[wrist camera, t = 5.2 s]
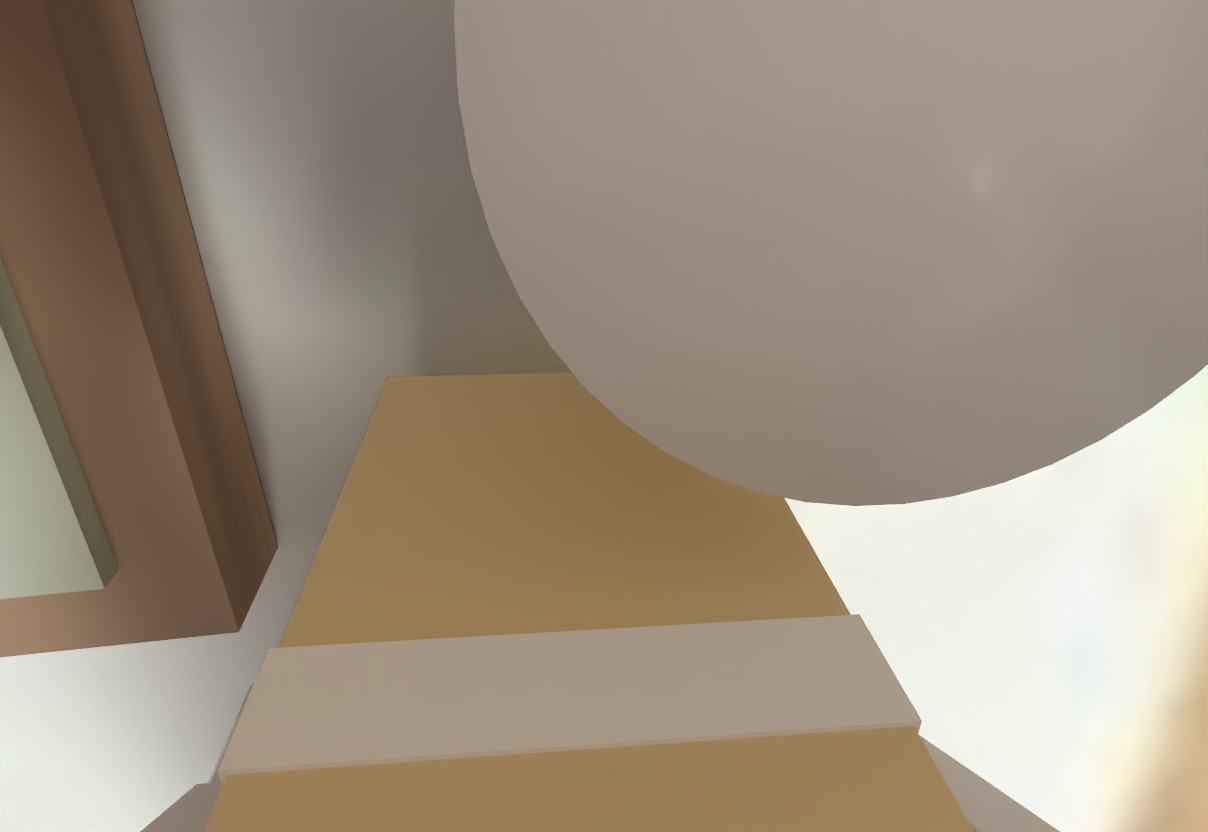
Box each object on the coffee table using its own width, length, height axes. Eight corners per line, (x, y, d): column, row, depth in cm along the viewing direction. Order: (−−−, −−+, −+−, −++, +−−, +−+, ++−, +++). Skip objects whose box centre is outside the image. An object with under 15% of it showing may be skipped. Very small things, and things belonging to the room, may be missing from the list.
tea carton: (713, 365, 12) (984, 830, 5) (687, 696, 15) (832, 1276, 8) (384, 373, 12) (162, 901, 5) (426, 714, 15) (335, 1344, 8)
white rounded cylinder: (939, -214, 11) (1703, -679, 4) (883, 259, 14) (1266, 467, 7) (458, -208, 11) (362, -744, 3) (505, 285, 14) (508, 542, 6)
